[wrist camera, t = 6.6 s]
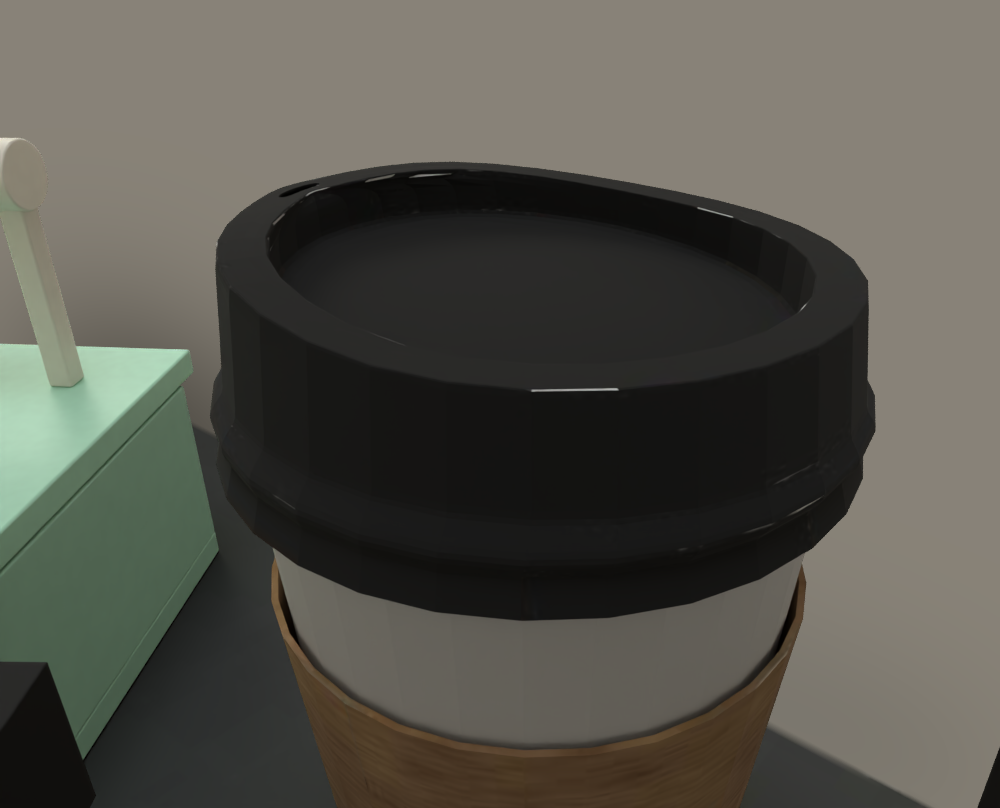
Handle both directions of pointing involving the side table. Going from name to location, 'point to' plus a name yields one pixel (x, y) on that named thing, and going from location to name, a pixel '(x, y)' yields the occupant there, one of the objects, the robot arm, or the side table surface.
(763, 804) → the side table surface
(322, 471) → the coffee cup
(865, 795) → the side table surface
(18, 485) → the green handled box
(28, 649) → the green box base
